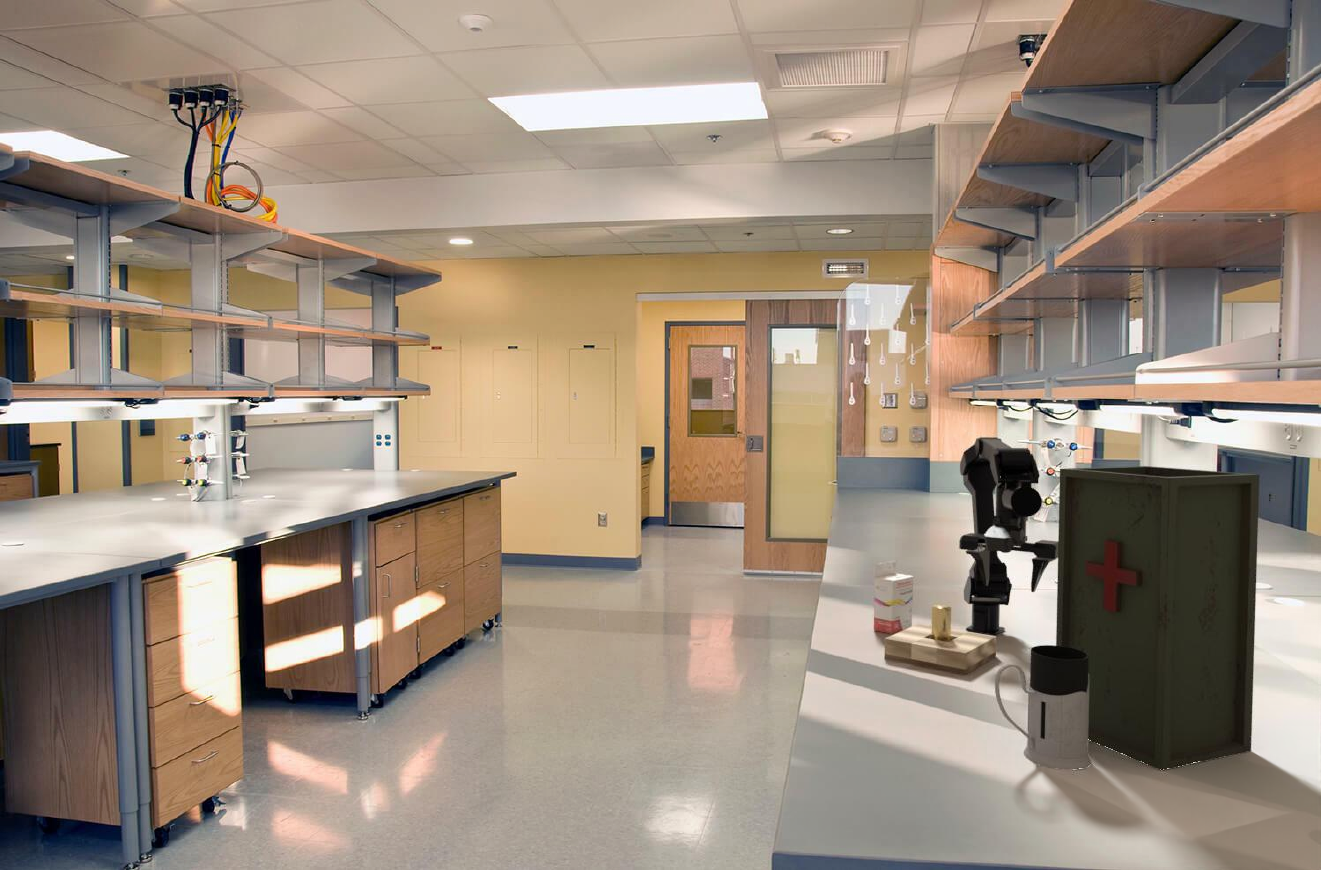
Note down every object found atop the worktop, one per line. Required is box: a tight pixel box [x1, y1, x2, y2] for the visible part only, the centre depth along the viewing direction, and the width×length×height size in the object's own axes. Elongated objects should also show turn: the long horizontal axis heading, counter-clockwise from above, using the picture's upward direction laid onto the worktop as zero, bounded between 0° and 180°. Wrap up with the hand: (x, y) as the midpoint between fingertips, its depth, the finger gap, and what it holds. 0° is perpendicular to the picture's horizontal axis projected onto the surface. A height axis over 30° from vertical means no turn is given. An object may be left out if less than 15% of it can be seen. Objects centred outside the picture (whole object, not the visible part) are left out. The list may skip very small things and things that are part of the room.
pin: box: [931, 604, 952, 642], centre depth 178 cm, size 4×4×9 cm
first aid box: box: [1055, 465, 1260, 771], centre depth 135 cm, size 18×18×40 cm
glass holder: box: [994, 644, 1092, 770], centre depth 127 cm, size 9×14×15 cm, turn 102°
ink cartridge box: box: [873, 559, 914, 635], centre depth 200 cm, size 9×5×15 cm, turn 135°
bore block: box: [884, 623, 997, 676], centre depth 178 cm, size 16×16×4 cm
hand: (1009, 588), depth 181 cm, fingers open, 9 cm apart
